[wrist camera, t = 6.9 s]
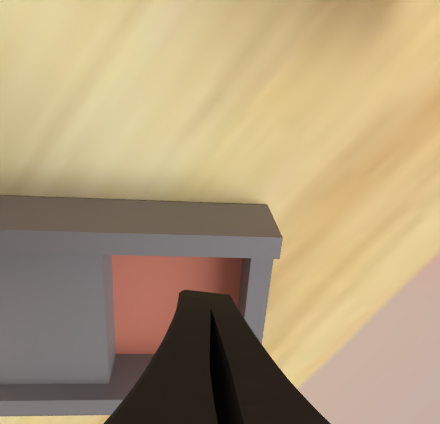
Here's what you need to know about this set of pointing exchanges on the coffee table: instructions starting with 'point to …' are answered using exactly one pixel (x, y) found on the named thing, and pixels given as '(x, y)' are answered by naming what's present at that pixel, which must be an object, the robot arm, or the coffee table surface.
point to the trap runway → (113, 290)
